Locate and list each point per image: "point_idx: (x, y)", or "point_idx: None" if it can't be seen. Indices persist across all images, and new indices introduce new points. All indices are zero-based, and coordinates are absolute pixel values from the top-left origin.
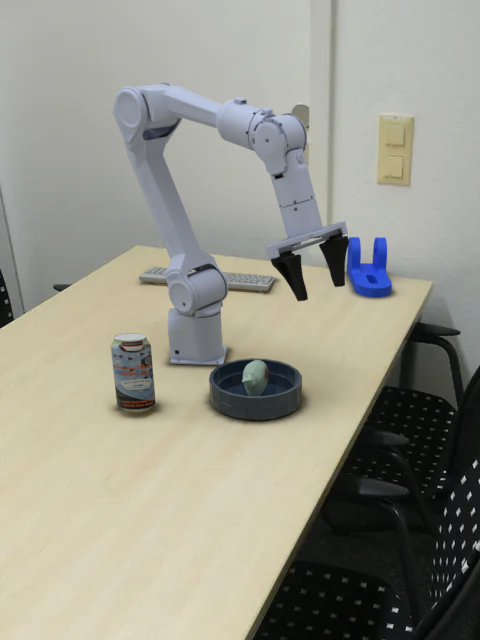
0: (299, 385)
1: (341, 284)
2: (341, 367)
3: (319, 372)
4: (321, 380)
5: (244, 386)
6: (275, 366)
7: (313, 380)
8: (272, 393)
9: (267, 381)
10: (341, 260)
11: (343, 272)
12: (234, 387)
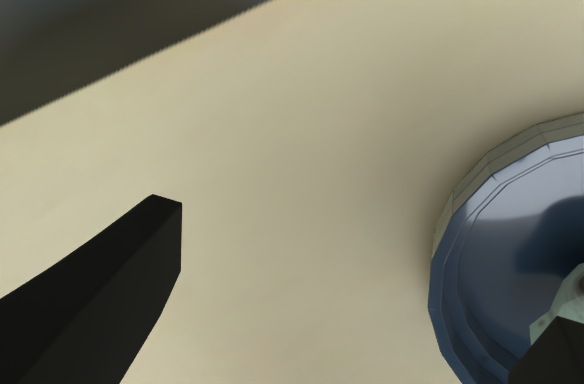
0: (579, 134)
1: (174, 216)
2: (209, 174)
3: (282, 210)
4: (325, 174)
5: None
6: (443, 306)
7: (342, 194)
8: (526, 245)
9: (579, 268)
10: (12, 343)
11: (92, 254)
12: None
